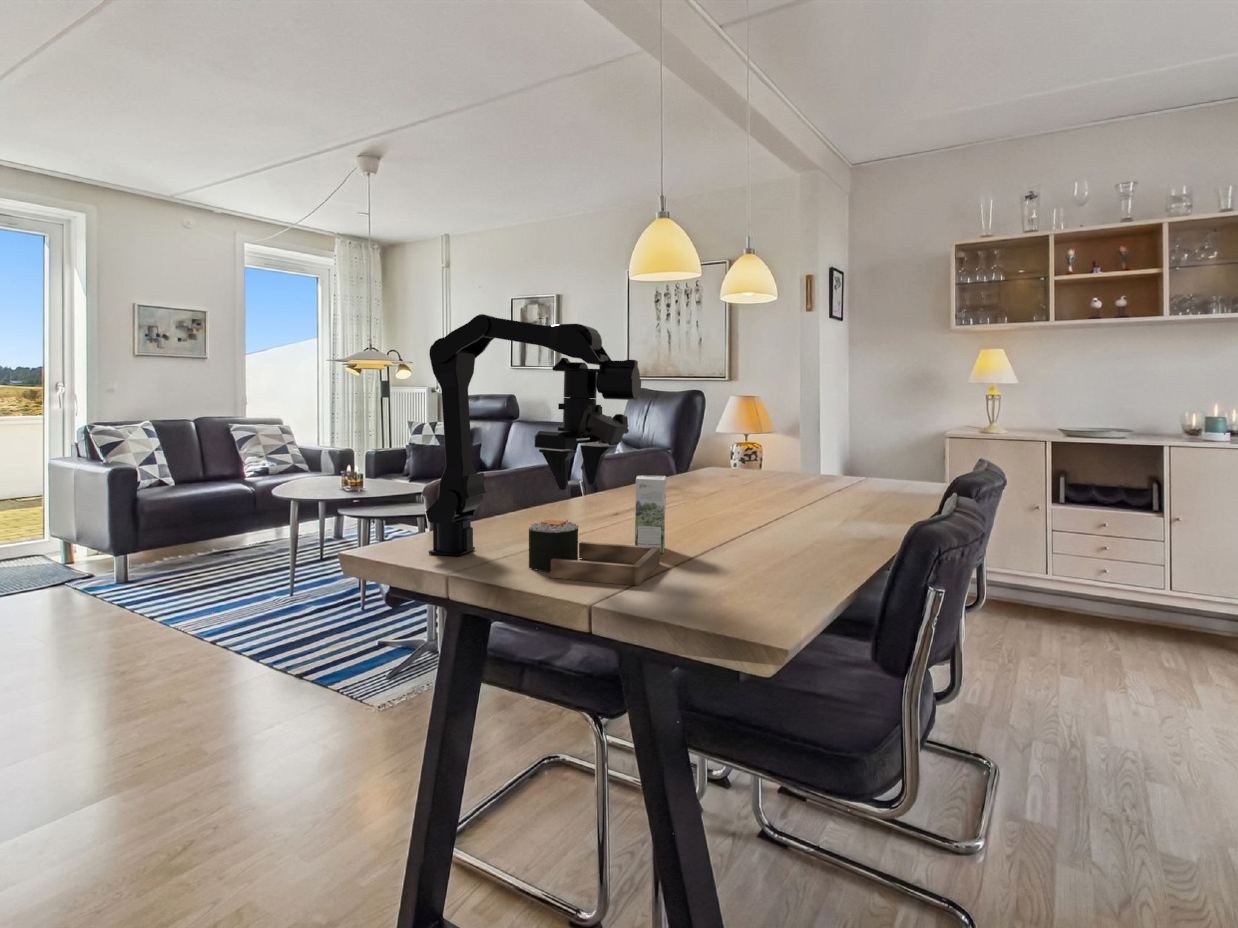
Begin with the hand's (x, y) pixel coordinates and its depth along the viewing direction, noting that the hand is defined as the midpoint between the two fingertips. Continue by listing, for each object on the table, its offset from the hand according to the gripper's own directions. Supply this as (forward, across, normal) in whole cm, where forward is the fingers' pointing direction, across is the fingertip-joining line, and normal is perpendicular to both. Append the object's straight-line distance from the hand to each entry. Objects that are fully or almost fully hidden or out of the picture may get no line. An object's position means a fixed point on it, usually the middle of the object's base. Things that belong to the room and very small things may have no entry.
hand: (577, 487), depth 124 cm
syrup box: (+14, +17, -6) cm, 23 cm away
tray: (+14, -2, -8) cm, 16 cm away
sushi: (+14, -4, +2) cm, 15 cm away
